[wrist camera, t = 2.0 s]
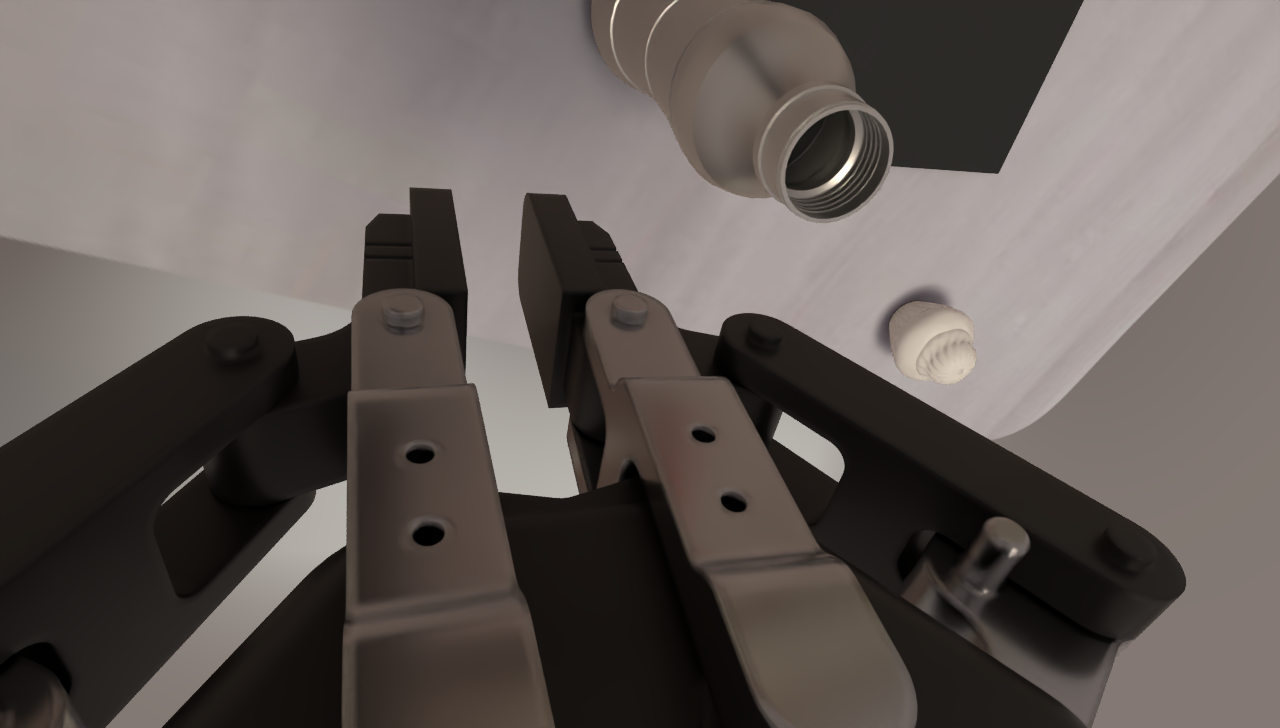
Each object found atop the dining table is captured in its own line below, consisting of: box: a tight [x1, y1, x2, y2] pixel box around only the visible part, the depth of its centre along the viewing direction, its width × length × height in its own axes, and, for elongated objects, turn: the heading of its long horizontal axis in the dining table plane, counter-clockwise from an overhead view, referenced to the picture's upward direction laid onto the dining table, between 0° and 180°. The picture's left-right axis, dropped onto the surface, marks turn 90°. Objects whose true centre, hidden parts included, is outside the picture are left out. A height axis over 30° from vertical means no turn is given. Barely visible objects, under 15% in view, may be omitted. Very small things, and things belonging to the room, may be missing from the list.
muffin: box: [889, 301, 977, 384], centre depth 52 cm, size 6×6×7 cm
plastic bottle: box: [591, 0, 893, 223], centre depth 28 cm, size 6×7×20 cm
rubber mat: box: [767, 0, 1084, 174], centre depth 40 cm, size 14×22×1 cm, turn 81°
